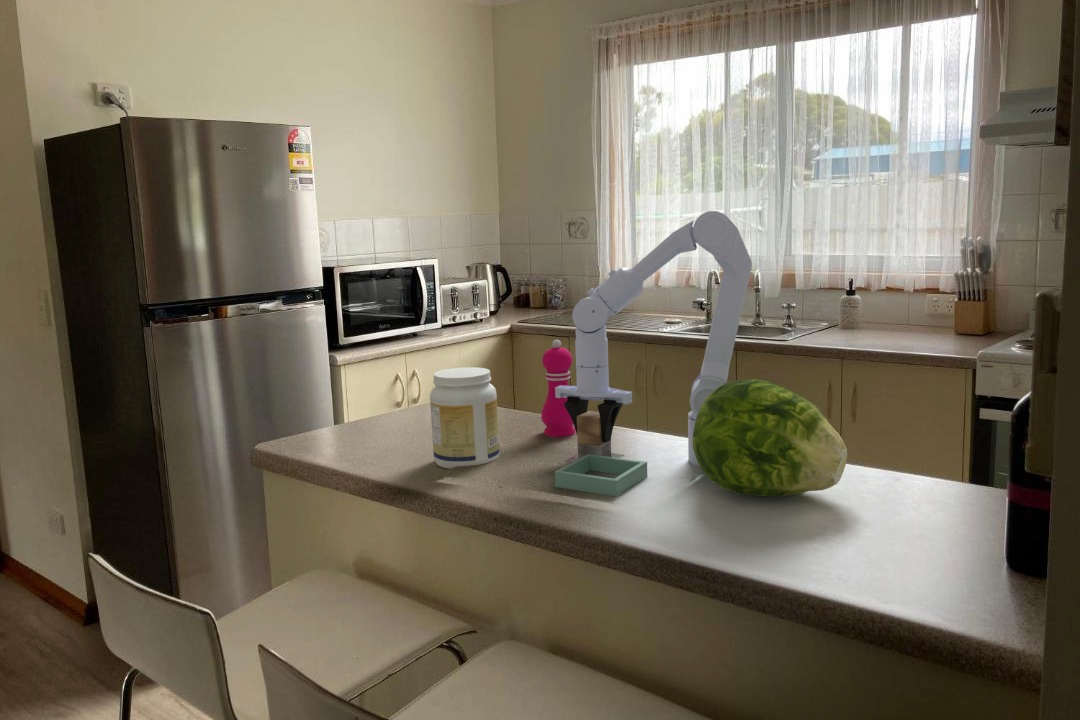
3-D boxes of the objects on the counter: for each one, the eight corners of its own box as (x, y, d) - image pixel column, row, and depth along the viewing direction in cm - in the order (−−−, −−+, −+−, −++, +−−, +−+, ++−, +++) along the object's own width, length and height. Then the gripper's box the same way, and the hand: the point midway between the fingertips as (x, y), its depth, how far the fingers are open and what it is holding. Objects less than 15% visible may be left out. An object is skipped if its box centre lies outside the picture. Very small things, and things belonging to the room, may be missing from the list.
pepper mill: (574, 442, 169) (571, 342, 166) (538, 441, 171) (535, 342, 167) (580, 433, 176) (577, 336, 173) (545, 432, 178) (542, 337, 174)
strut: (611, 456, 155) (610, 413, 154) (599, 462, 151) (598, 418, 150) (589, 453, 157) (588, 410, 156) (578, 459, 154) (576, 416, 152)
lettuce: (813, 535, 120) (845, 411, 117) (663, 483, 132) (689, 369, 129) (845, 511, 136) (873, 401, 133) (708, 466, 148) (732, 364, 145)
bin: (647, 482, 143) (647, 461, 142) (617, 502, 133) (616, 480, 133) (588, 473, 149) (587, 454, 148) (555, 492, 139) (554, 471, 139)
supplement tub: (480, 449, 167) (475, 363, 164) (512, 463, 157) (508, 371, 154) (422, 460, 160) (417, 371, 158) (452, 475, 150) (446, 380, 148)
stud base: (624, 460, 156) (624, 443, 155) (604, 472, 149) (603, 454, 149) (586, 455, 160) (585, 438, 159) (564, 466, 153) (564, 449, 153)
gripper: (639, 363, 151) (640, 438, 153) (568, 359, 159) (570, 430, 161) (621, 370, 145) (623, 448, 147) (548, 365, 153) (550, 439, 155)
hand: (594, 439), depth 154 cm, fingers closed on strut, 4 cm apart
